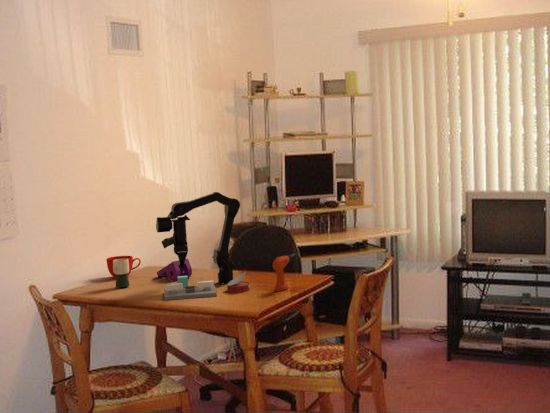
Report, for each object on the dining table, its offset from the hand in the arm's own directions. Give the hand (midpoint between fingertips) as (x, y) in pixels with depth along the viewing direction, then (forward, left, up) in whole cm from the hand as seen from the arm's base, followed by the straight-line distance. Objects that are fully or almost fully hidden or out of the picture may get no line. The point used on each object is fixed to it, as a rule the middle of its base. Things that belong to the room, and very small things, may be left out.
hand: (181, 264), depth 327 cm
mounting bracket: (+5, -26, -11) cm, 29 cm away
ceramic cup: (+29, -39, -11) cm, 50 cm away
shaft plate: (-3, +17, -10) cm, 20 cm away
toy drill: (-45, +18, -11) cm, 50 cm away
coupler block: (0, 0, -10) cm, 10 cm away
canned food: (-24, +16, -11) cm, 31 cm away
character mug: (+28, -11, -11) cm, 32 cm away
